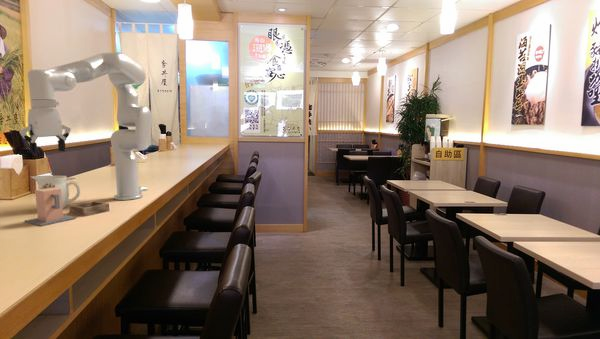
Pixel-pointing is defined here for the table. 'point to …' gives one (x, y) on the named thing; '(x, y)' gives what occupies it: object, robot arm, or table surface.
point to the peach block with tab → (49, 204)
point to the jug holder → (89, 208)
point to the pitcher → (57, 186)
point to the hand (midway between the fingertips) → (48, 152)
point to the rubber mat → (43, 223)
